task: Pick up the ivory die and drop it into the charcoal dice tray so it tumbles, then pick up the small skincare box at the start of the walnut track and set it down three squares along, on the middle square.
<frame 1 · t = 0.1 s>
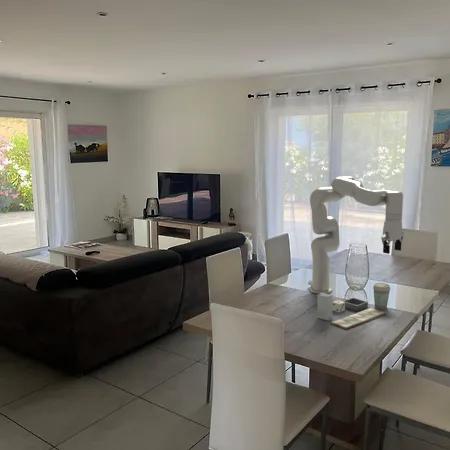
hand: (392, 251, 222), 31 cm above the table, tool pointing down, fingers open, 9 cm apart
coffee cup: (380, 307, 234), on the table
die: (338, 310, 231), on the table
dice tray: (354, 307, 235), on the table
track: (358, 319, 219), on the table
skincare box: (324, 318, 221), on the table
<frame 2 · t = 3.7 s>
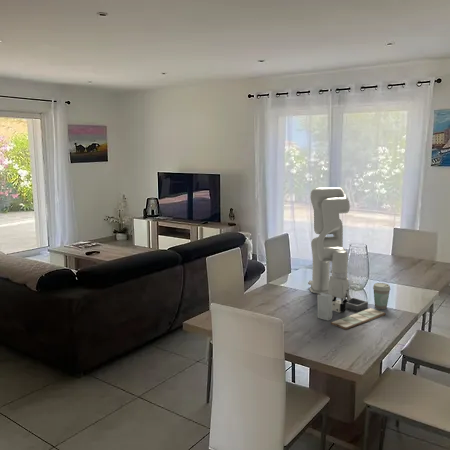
hand: (338, 309, 231), 1 cm above the table, tool pointing down, fingers closed on die, 4 cm apart
die: (338, 310, 231), on the table, touching gripper
everything else where it was.
when the fingers open (10 cm above the table, at t = 5.4 s): die drops 9 cm, resting on dice tray.
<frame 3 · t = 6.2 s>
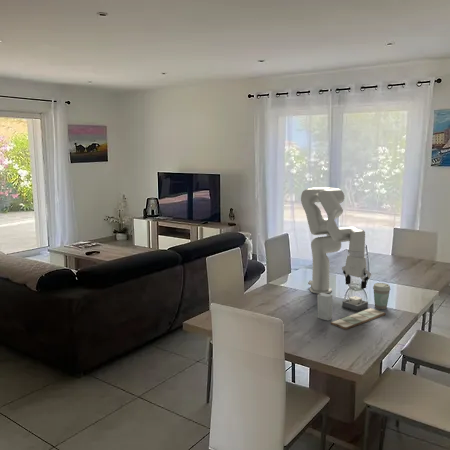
hand: (355, 286, 233), 11 cm above the table, tool pointing down, fingers open, 9 cm apart
die: (355, 306, 235), resting on dice tray
everything else where it was.
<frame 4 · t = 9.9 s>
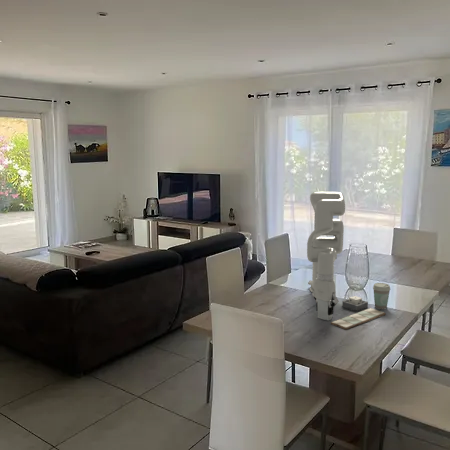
hand: (324, 312, 220), 3 cm above the table, tool pointing down, fingers closed on skincare box, 6 cm apart
skincare box: (324, 318, 221), on the table, touching gripper
everything else where it was.
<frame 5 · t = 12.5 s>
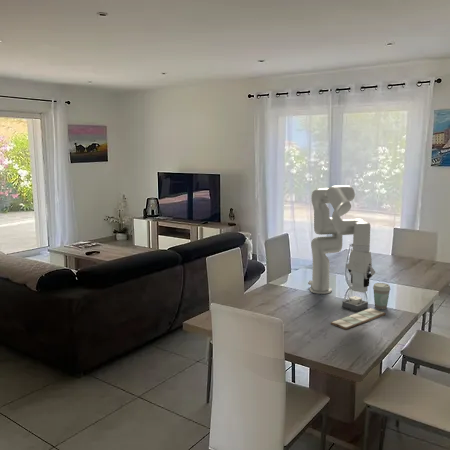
hand: (359, 284, 216), 17 cm above the table, tool pointing down, fingers closed on skincare box, 6 cm apart
skincare box: (359, 291, 217), point 14 cm above the table, touching gripper
everything else where it was.
when the fingers open (5 cm above the table, at t = 15.1 s): skincare box drops 1 cm, resting on track.
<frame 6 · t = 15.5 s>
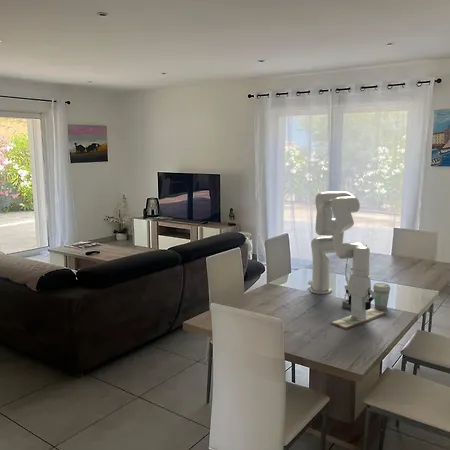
hand: (359, 306, 218), 6 cm above the table, tool pointing down, fingers open, 9 cm apart
skincare box: (358, 317, 219), point 1 cm above the table, touching track
everything else where it was.
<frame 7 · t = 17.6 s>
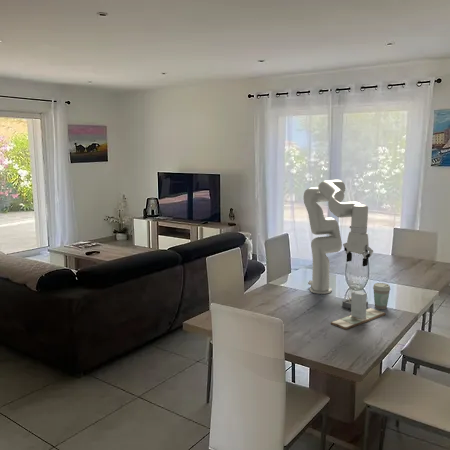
hand: (356, 263, 225), 25 cm above the table, tool pointing down, fingers open, 9 cm apart
nothing on the table moved.
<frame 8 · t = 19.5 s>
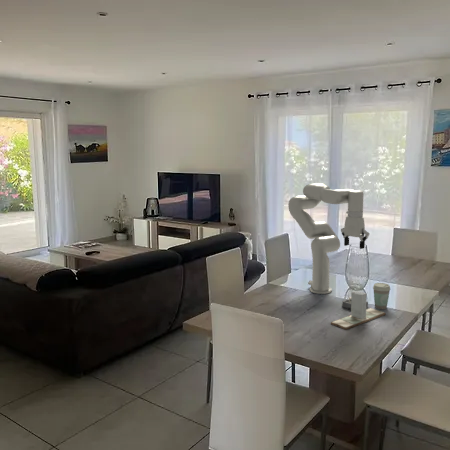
hand: (354, 246, 237), 30 cm above the table, tool pointing down, fingers open, 9 cm apart
nothing on the table moved.
at the end: skincare box inside the target area on the track (0.4 cm from its centre), point 0.8 cm above the track's base; skincare box tilted 0°; die 0.1 cm from the dice tray (horizontally) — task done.
